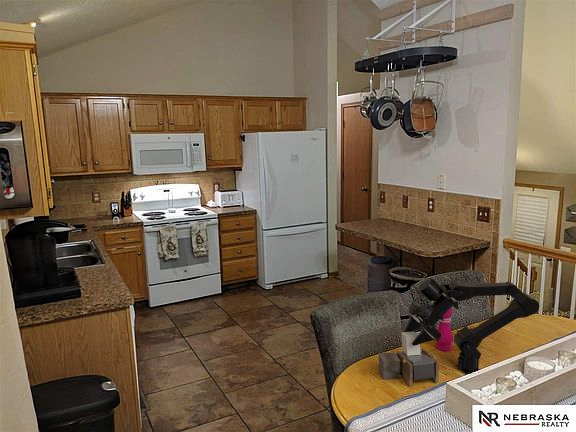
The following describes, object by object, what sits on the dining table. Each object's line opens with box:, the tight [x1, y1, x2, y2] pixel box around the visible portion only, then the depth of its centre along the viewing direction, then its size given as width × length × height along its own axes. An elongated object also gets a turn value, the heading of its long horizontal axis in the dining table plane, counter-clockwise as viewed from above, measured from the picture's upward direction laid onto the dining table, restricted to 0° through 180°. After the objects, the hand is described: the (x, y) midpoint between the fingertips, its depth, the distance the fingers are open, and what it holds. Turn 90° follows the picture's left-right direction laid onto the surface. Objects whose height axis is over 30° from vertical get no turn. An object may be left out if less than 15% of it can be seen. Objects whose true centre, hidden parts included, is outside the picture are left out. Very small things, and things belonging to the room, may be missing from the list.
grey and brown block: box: [400, 350, 435, 381], centre depth 162 cm, size 8×12×6 cm, turn 10°
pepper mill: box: [434, 307, 454, 352], centre depth 182 cm, size 7×7×20 cm
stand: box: [378, 351, 401, 380], centre depth 164 cm, size 6×6×7 cm
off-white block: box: [400, 330, 422, 356], centre depth 165 cm, size 5×6×7 cm
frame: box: [396, 347, 440, 388], centre depth 161 cm, size 12×11×8 cm
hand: (408, 339), depth 164 cm, fingers open, 9 cm apart
